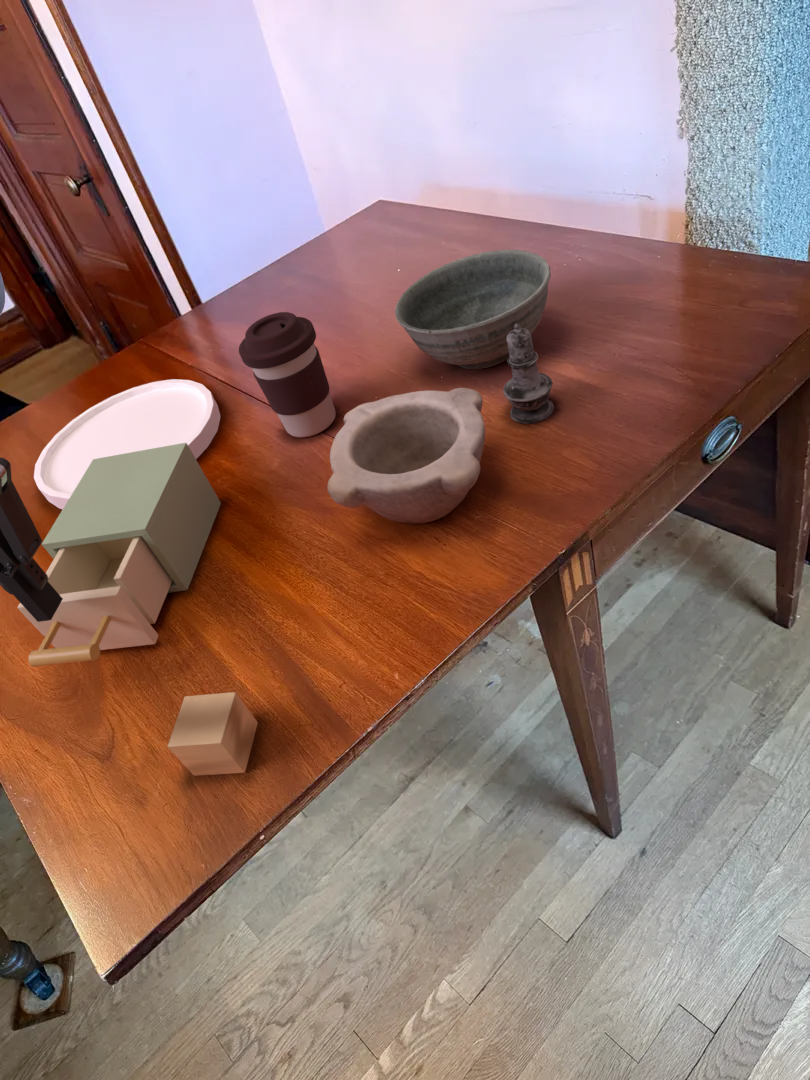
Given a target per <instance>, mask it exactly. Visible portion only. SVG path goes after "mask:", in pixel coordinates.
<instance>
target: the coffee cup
mask: <svg viewBox="0 0 810 1080" xmlns="http://www.w3.org/2000/svg"><path fill="white" fill-rule="evenodd" d="M244 335H245V336H244V338H243V339H242V340H241V342H240V343H239V346H238V354H239V356H240V359H241V361H242V362H243V364H244V365H245V366H247V367H248V368H251V370H252V372H253V373H252V374H253V376H254V379H255V381H256V382H257V384H258V386H259V388H260V390H261V391H262V393H263V395H264V396H265V398H266V400H267V402H268V404H269V405H270V407H271V409H272V411H273V412H274V413H275V414H276V415H277V417H278V419H279V420H280V422H281V424H282V426H283V428H284V430H285V432H286V433H287V434H289V435H290V436H292V437H294V438H307V437H308V438H309V437H313V436H315V435H317V434H319V433H322V432H323V431H325V430H326V429H328V428H329V427H330V426H331V425H332V424H333V422H334V421H335V418H336V408H335V405H334V402H333V399H332V396H331V392H330V384H329V380H328V378H327V374H326V370H325V368H324V363H323V361H322V357H321V355H320V351H319V349H318V347H317V346H316V344H315V341H316V339H317V332H316V330H315V327H314V324H313V322H312V321H311V320H309V319H308V318H306V317H304V316H303V317H302V316H297V315H296V314H294V313H291V312H289V311H281V312H275V313H272V314H268V315H265V316H263V317H261V318H260V319H258V320H256V321H255V322H253V323H252V324H250V326H249V327H248V328H247V329H246V331H245V334H244Z"/></svg>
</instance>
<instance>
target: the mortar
mask: <svg viewBox="0 0 810 1080" xmlns="http://www.w3.org/2000/svg"><path fill="white" fill-rule="evenodd" d="M483 404H484V403H483V396H482V394H481V393H480V392H479V391H477V390H476V389H473V388H468V387H457V388H454V389H451V390H448V391H445V390H431V389H430V390H427V389H426V390H418V391H411V392H406V393H400V394H395V395H390V396H387V397H383V398H380V399H377V400H374V401H370V402H369V401H368V402H364V403H362V404H359V405H356V407H354V408H352V409H350V410H349V411H348V412H346V413H345V414H344V417H343V423H344V424H343V426H342V427H341V428H340V430H339V431H338V432H337V433H336V434H335V436H334V439H333V441H332V444H331V447H330V452H329V462H330V468H331V472H332V474H331V476H330V477H329V479H328V481H327V487H326V489H327V493H328V495H329V497H330V499H332V501H333V502H335V503H336V504H338V505H340V506H342V507H345V508H349V509H356V508H360V507H364V506H365V507H366V508H368V509H370V510H371V511H373V512H375V513H376V514H378V515H379V516H381V517H383V518H385V519H388V520H391V521H393V522H397V523H402V524H427V523H430V522H434V521H437V520H439V519H442V518H443V517H445V516H447V515H449V514H450V513H451V512H452V511H453V510H454V509H455V508H457V507H458V506H459V505H460V504H461V503H462V502H463V501H464V499H465V498H466V496H467V495H468V493H469V491H470V490H471V489H472V488H473V487H474V486H475V484H476V482H477V481H478V478H479V475H480V473H481V464H480V463H481V460H482V457H483V451H484V447H485V440H486V439H485V438H486V426H485V421H484V417H483V414H482V408H483Z"/></svg>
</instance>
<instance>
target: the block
mask: <svg viewBox="0 0 810 1080" xmlns="http://www.w3.org/2000/svg"><path fill="white" fill-rule="evenodd" d="M174 723H175V724H174V727H173V729H172V732H171V734H170V735H171V736H170V738H169V741H168V744H167V748H168V749H169V750H170V751H171V752H172V754H173V755H174V756H175V757H176V758H177V759H178V760H179V761H180V762H181V763H182V764H183V766H184V767H185V768H186V769H187V770H188V772H189V773H191V774H192V776H194V777H196V776H213V775H214V776H215V775H229V774H231V775H232V774H245V773H246V771H247V767H248V763H249V760H250V755H251V751H252V748H253V743H254V740H255V735H256V732H257V728H258V721H257V720H256V718H255V717H254V715H253V714H252V712H251V711H250V709H249V708H248V707H247V706H246V704H245V702H243V700H242V698H241V697H240V696H239V694H238V693H237V692H236V691H232V692H231V691H230V692H218V693H207V694H197V695H195V694H194V695H185V696H184V698H183V700H182V704H181V706H180V708H179V712H178V715H177V717H176V720H175V722H174Z"/></svg>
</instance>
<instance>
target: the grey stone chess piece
mask: <svg viewBox="0 0 810 1080" xmlns="http://www.w3.org/2000/svg"><path fill="white" fill-rule="evenodd" d="M519 327H520V325H518V324H517V323H516V324H515V326H514V328H515V329H513V330H512V331H510V332H509V334H508V335H507V345H508V350H509V355H510V357H509V358H508V359H506V362H507V365H508V366H509V367H510V369H511V373H512V378H510V379H509V380H508V381H507V382H505V384H504V386H503V389H502V392H503V395H504V397H505V398H506V399H507V401H508V402H509V403H510V405H511V406H512V407H511V409H510V412H509V414H510V418H511V420H512V421H514V422H515V423H518V424H522V425H531V424H532V425H533V424H537V423H540V422H542V421H545V420H546V419H547V418H549V417H550V416H551V415H552V413H554V409H555V405H554V403H553V401H551V400H550V399H549V398H550V395H551V391H552V388H553V384H554V383H553V380H552V377H550V376H549V375H548V374H546V373H543V372H539V369H538V365H537V362H538V361H537V360H538V359H539V355H538V353H537V352H536V351H535V350H534V344H533V339H532V334H531V333H530V331H529V330H527V329H525V328H519Z"/></svg>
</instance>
